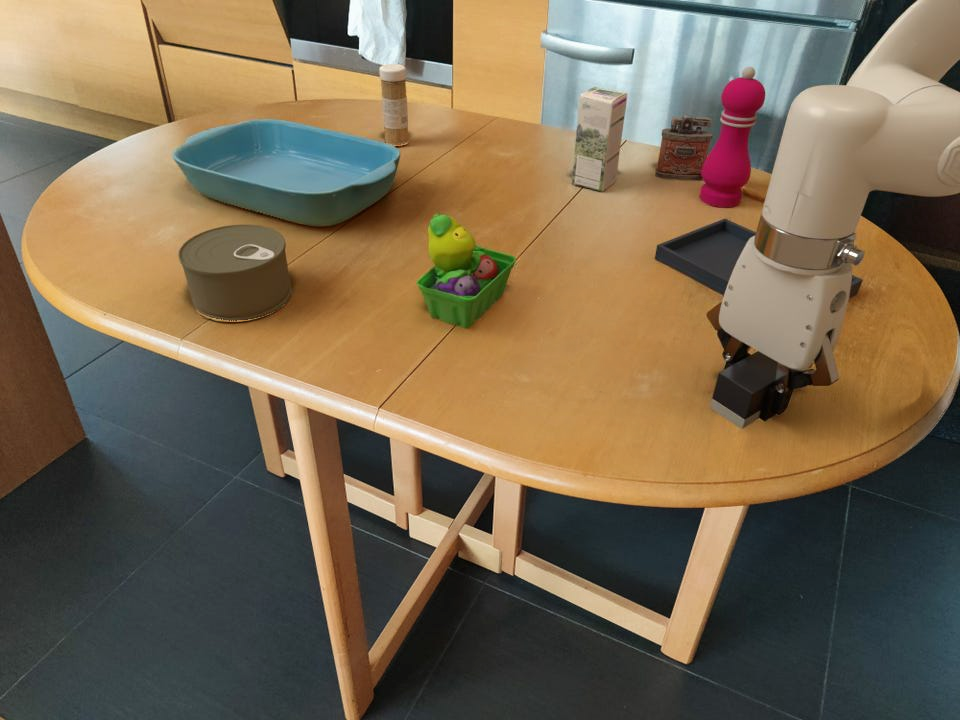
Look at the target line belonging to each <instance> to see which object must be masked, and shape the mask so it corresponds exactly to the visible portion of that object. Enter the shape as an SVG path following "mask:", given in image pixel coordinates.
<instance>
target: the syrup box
mask: <svg viewBox="0 0 960 720" xmlns="http://www.w3.org/2000/svg"><path fill="white" fill-rule="evenodd" d="M627 102H628V92H624V91H619V90H612V89H607V88H603V87H597V86H594V87H592V88H589V89H587V90H586V91H585V90H584V92H582V93H581V94H580V95H579V98H578V109H577V121H576V130H575V139H574V140H575V142H574V153H573V154H574V155H573V163H572V176H571V185H574V186H578V187H581V188H585V189H588V188H589V189H588V190H593V191H597V192H601V193H603V192H605V191H606V190H607V189H609V188H610V187H611V186H612V185H614V184H615V183H616V182H617V178H618V170H619V161H620V153H621V147H622V146H621V145H622V137H623V130H624V123H625V117H626V109H627ZM609 186H610V187H609ZM605 189H606V190H605Z"/></svg>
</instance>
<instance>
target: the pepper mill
mask: <svg viewBox="0 0 960 720" xmlns="http://www.w3.org/2000/svg"><path fill="white" fill-rule="evenodd" d="M755 75H756V70H755V68H754V67H752V66H746V67H744V68H743V69H742V72H741V77H740V76H739V77H737V78H734V79H732V80H730V81H728V82H727V84H725V86H724V87H723V88H722V89H723V90H722V92H721V97H720V99H721V100H720V101H721V105H722V106H723V108H724V109H723V110H722V111H721V113H720V114H721V117H720V118H719V121H720V123H721V129H720V133H719V135H718V139H717V140H716V143H715V145H714V146H713V148H712V149H711V151H710V152H709V153H708V155H707V158H706V160H705V162H704V164H703V168H702V171H701V175H702V178H703V180H702V181H703V182H704V183H703V184H702V185H701V188H700V191H699V200H701V201H702V202H703V203H705V204H707V205H709V206H712V207H715V208H734V207H736V206H739V205H740V203H741V202H742V197H743V192H744V191H743V190H742V188H743V187H745V186H746V185H747V184H748V183H749V181H750V178H751V173H752V164H751V159H750V153H749V137H750V132H751V129H752V127H754V126H755V125H756V120H757V117H758V115H757V112H758V111H759V110H761V108H762V107H763V106H764V104H765V100H766V89H765V86H764V84H763V83H762V82H760V81H759V80H758V79H757V78H754V77H755Z"/></svg>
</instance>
